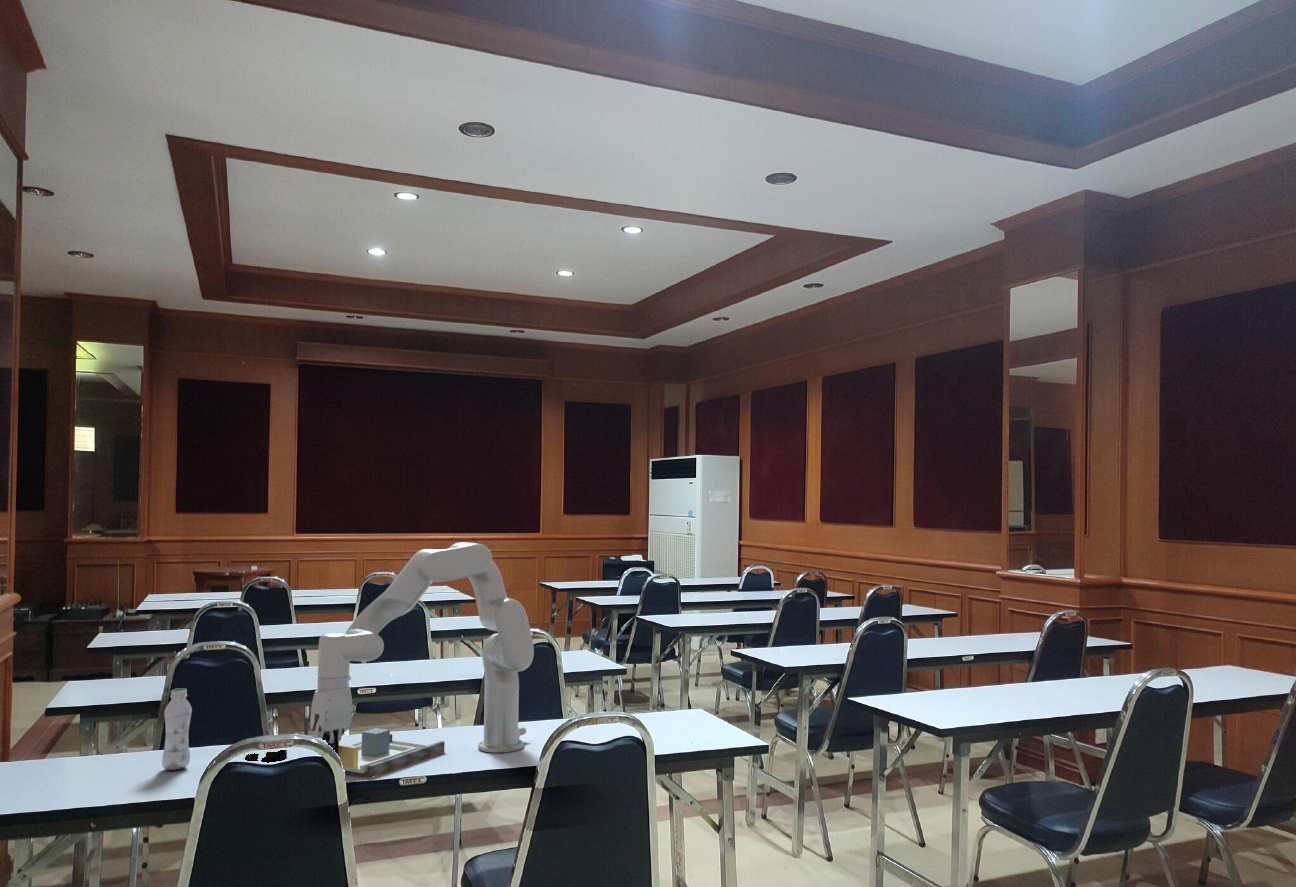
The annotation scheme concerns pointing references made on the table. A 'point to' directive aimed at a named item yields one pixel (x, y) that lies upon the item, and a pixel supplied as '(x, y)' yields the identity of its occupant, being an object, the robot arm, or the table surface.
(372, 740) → the slate block
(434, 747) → the guide base
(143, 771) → the table surface
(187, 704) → the plastic bottle
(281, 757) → the end cap
